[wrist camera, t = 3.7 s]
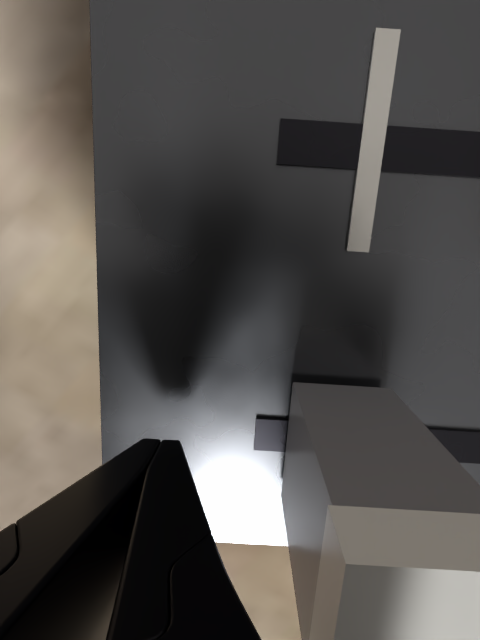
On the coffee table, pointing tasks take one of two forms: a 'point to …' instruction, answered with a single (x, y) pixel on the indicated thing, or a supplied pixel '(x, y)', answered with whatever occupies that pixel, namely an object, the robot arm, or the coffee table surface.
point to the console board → (283, 227)
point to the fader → (377, 521)
